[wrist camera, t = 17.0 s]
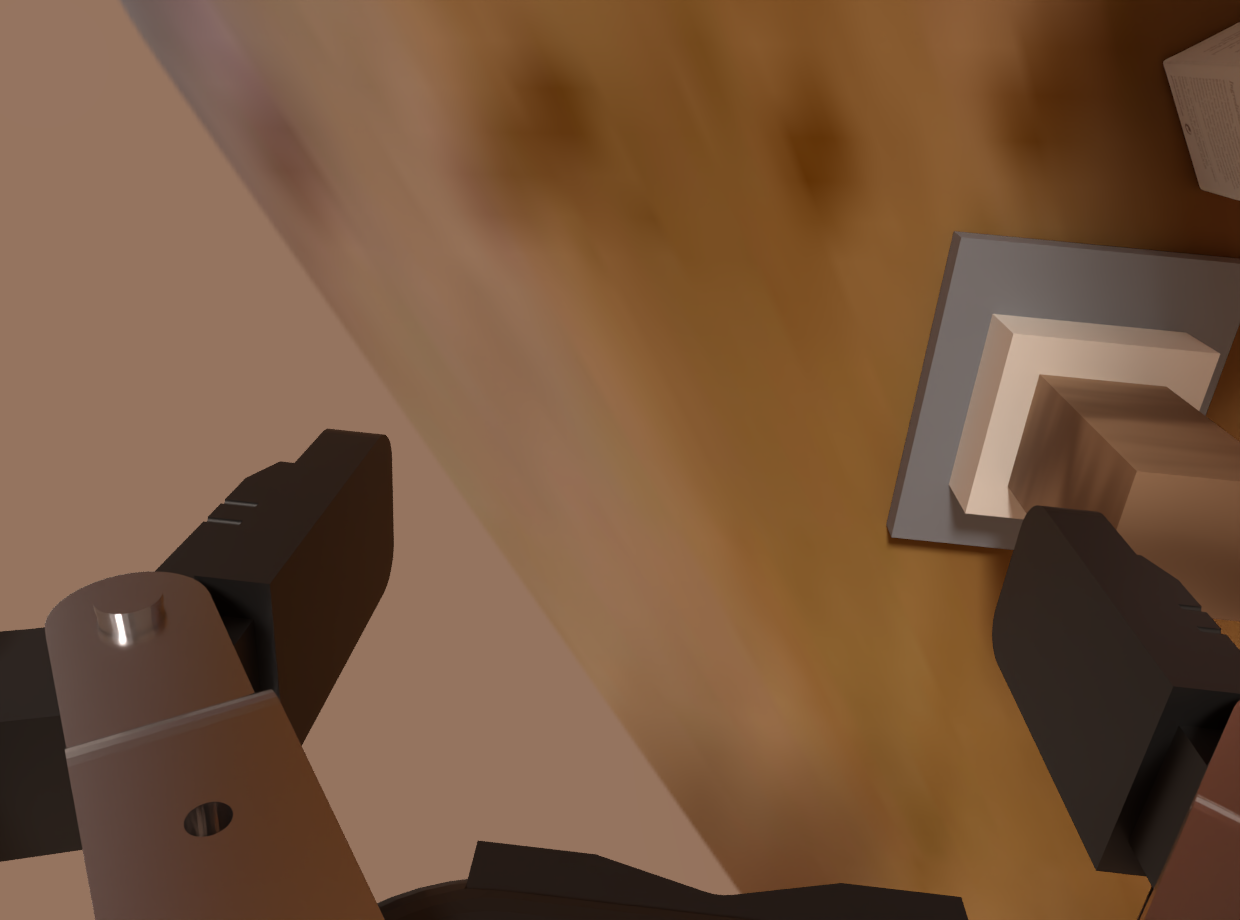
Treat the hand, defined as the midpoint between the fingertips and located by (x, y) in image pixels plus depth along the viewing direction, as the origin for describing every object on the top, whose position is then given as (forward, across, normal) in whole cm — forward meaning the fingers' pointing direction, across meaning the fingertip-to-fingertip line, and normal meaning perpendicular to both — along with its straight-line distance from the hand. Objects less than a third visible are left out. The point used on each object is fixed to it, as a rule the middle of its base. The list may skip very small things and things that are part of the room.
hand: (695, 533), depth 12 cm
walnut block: (+26, -17, +8) cm, 32 cm away
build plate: (+30, -17, +8) cm, 35 cm away
